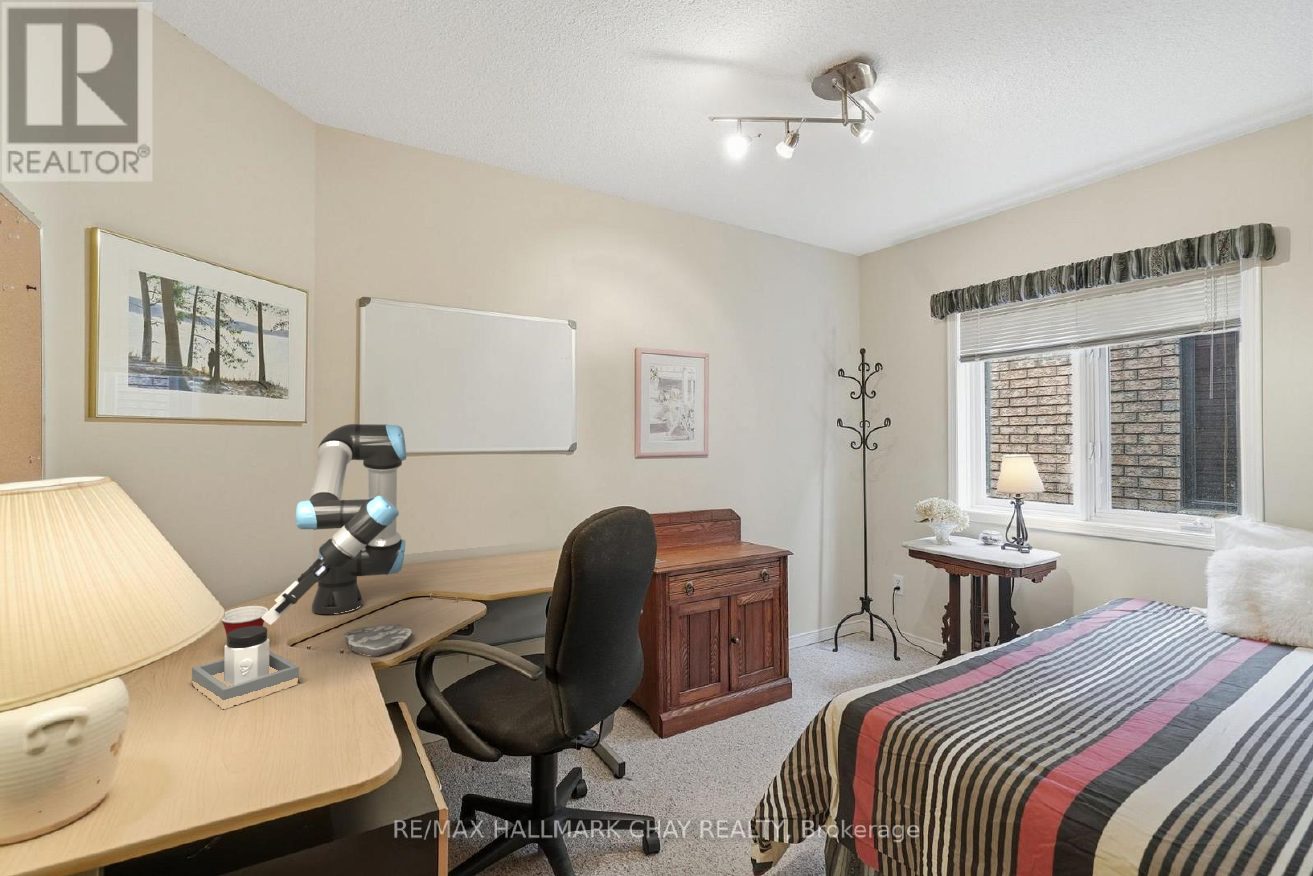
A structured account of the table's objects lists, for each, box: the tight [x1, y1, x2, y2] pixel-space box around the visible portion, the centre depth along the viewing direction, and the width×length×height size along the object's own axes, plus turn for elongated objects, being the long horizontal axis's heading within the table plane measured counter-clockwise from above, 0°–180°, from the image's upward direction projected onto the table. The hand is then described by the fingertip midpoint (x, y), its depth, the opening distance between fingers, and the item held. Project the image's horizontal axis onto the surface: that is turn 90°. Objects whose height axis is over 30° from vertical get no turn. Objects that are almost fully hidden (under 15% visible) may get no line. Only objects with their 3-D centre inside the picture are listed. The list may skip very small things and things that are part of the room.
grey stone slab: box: [343, 624, 413, 657], centre depth 169 cm, size 20×17×3 cm
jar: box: [223, 625, 270, 685], centre depth 142 cm, size 9×8×12 cm
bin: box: [191, 649, 300, 700], centre depth 142 cm, size 19×16×4 cm
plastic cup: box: [220, 605, 269, 637], centre depth 159 cm, size 11×11×12 cm
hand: (272, 612), depth 143 cm, fingers open, 13 cm apart
